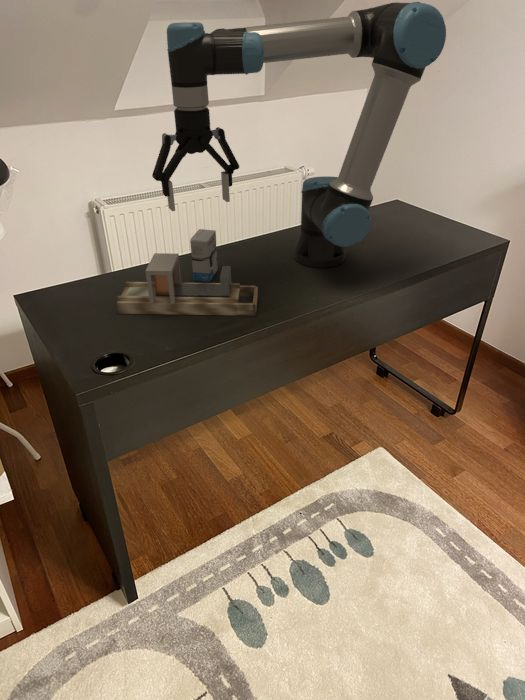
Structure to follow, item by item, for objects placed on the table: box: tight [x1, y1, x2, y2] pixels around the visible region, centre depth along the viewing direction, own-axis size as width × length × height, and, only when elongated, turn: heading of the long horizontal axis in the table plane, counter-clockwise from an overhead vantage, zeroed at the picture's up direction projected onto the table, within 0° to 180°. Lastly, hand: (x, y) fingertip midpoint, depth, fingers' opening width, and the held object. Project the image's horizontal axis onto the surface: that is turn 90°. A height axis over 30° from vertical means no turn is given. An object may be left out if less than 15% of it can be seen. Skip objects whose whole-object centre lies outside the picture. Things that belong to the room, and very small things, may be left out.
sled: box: [152, 265, 232, 298], centre depth 128 cm, size 18×6×6 cm, turn 88°
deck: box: [116, 281, 259, 317], centre depth 130 cm, size 34×10×4 cm, turn 88°
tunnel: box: [144, 252, 182, 304], centre depth 127 cm, size 6×10×8 cm, turn 178°
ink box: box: [189, 228, 218, 283], centre depth 142 cm, size 8×5×12 cm, turn 168°
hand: (199, 204), depth 124 cm, fingers open, 13 cm apart
